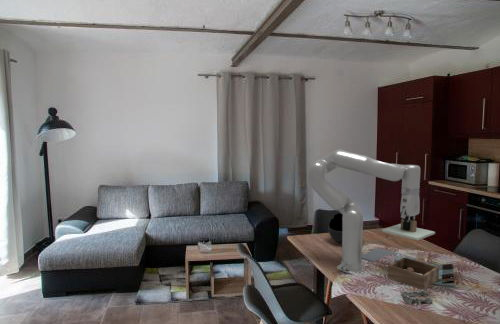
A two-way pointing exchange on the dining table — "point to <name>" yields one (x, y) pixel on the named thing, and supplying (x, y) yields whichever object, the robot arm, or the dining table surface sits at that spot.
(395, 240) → the dining table surface
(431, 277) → the box
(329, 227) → the coal bowl
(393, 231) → the lid
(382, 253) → the mat
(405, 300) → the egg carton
